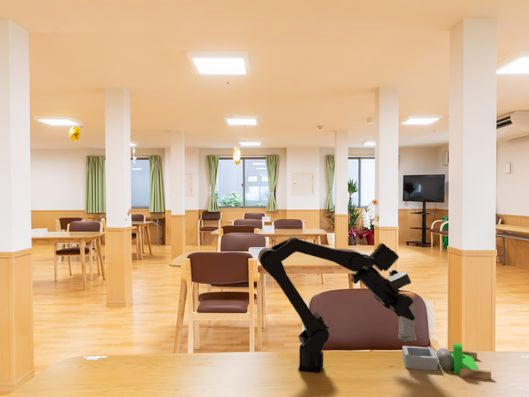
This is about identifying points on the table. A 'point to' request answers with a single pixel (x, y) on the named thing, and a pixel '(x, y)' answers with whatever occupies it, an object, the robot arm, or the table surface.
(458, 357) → the mechanical part
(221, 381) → the table surface
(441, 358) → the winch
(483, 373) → the bay rails
